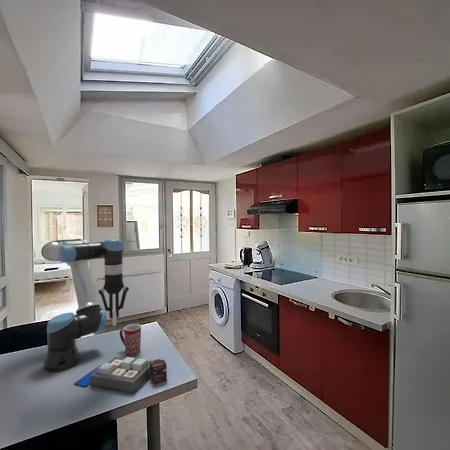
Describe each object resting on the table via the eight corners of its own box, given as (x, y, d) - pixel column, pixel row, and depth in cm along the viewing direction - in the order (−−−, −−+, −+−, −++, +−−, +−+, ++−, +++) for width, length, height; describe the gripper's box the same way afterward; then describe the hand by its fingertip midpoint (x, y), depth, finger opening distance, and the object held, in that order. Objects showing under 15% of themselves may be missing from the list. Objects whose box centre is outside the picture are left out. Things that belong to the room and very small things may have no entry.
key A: (109, 370, 119) (109, 363, 119) (116, 365, 123) (115, 358, 123) (117, 372, 118) (117, 365, 118) (124, 366, 122) (123, 360, 122)
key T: (111, 381, 111) (110, 373, 111) (117, 375, 115) (117, 368, 115) (119, 382, 110) (119, 375, 110) (126, 376, 114) (126, 369, 114)
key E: (132, 370, 116) (132, 363, 116) (138, 365, 120) (138, 358, 120) (141, 371, 114) (141, 364, 114) (146, 366, 119) (146, 359, 119)
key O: (99, 375, 112) (98, 368, 112) (106, 369, 117) (106, 362, 117) (107, 376, 111) (107, 369, 111) (114, 370, 116) (114, 364, 116)
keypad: (90, 386, 111) (89, 375, 111) (115, 366, 126) (115, 356, 126) (133, 393, 105) (133, 382, 105) (154, 371, 121) (154, 361, 121)
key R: (120, 368, 117) (120, 362, 117) (126, 363, 121) (126, 357, 121) (129, 369, 116) (129, 363, 116) (135, 364, 120) (135, 358, 120)
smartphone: (72, 383, 112) (99, 365, 126) (72, 385, 112) (100, 366, 126) (85, 387, 110) (112, 367, 124) (86, 389, 110) (112, 369, 124)
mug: (145, 349, 142) (145, 324, 142) (133, 358, 133) (133, 331, 133) (127, 346, 147) (126, 321, 146) (115, 353, 138) (114, 328, 138)
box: (152, 384, 111) (152, 367, 111) (150, 377, 116) (149, 361, 116) (167, 380, 114) (166, 363, 114) (163, 373, 119) (163, 357, 119)
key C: (123, 383, 109) (123, 375, 109) (129, 377, 114) (129, 369, 114) (132, 384, 108) (132, 377, 108) (138, 378, 112) (138, 371, 112)
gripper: (98, 276, 113) (99, 330, 113) (130, 273, 119) (130, 324, 120) (97, 273, 119) (97, 324, 120) (127, 270, 125) (128, 319, 126)
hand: (114, 324), depth 120 cm, fingers closed
